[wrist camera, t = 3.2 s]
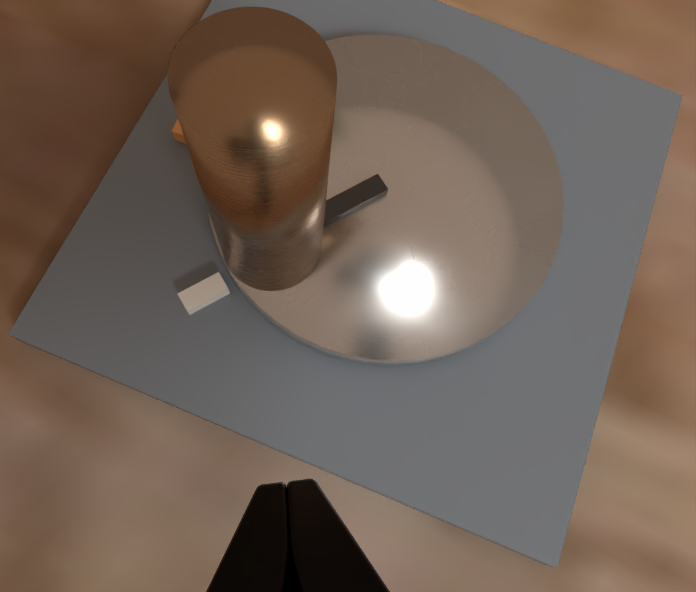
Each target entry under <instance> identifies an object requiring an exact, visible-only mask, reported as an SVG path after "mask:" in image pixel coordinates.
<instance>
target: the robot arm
mask: <svg viewBox="0 0 696 592" xmlns="http://www.w3.org/2000/svg"><path fill="white" fill-rule="evenodd" d="M206 592H390V591H389V590H388V588H387V587H386V585H385V584H384V582H383V581H382V579H381V578H380V576H379V575H378V573H377V572H376V570H375V569H374V567H373V566H372V564H371V563H370V561H369V560H368V558H367V557H366V555H365V554H364V552H363V551H362V549H361V548H360V546H359V545H358V543H357V542H356V540H355V539H354V537H353V536H352V534H351V533H350V531H349V530H348V528H347V527H346V525H345V524H344V522H343V521H342V519H341V518H340V516H339V515H338V513H337V512H336V510H335V509H334V507H333V506H332V505H331V503H330V502H329V500H328V499H327V497H326V496H325V494H324V493H323V491H322V490H321V488H320V487H319V485H318V484H317V482H316V481H315V480H313V479H304V480H296V481H290V482H289V483H288V484H287V487H286V485H285V483H283V482H279V483H271V484H262V485H260V486H258V487H257V489H256V490H255V492H254V494H253V496H252V498H251V500H250V503H249V505H248V507H247V509H246V511H245V513H244V515H243V517H242V519H241V521H240V523H239V525H238V527H237V529H236V531H235V533H234V535H233V538H232V540H231V542H230V544H229V546H228V548H227V550H226V552H225V554H224V556H223V558H222V560H221V562H220V564H219V566H218V568H217V570H216V573H215V575H214V577H213V579H212V581H211V583H210V585H209V587H208V589H207V591H206Z"/></svg>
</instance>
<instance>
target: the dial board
mask: <svg viewBox="0 0 696 592" xmlns="http://www.w3.org/2000/svg"><path fill="white" fill-rule="evenodd" d="M238 7H266V8H271V9H276V10H279V11H282V12H286V13H288V14H290V15H293V16H295V17H297V18H299V19H300V20H302V21H304V22H305V23H307V24H308V25H309V26H311V27H312V28H313V29H314V30H315V31H316V32H317V33H318V34H319V35H320V36H321V37H322V38H323V40H324V41H327V40H331V39H335V38H340V37H348V36H355V35H380V34H381V35H392V36H403V37H408V38H413V39H418V40H423V41H426V42H430V43H433V44H436V45H439V46H443V47H445V48H448V49H450V50H452V51H454V52H457V53H459V54H461V55H464V56H465V57H467V58H469V59H471V60H473V61H474V62H476V63H478V64H480V65H481V66H483V67H484V68H486V69H487V70H488V71H490V72H491V73H493V74H494V75H495V76H497V77H498V78H500V79H501V80H502V81H503V82H504V83H505V84H506V85H507V86H508V87H509V88H511V89H512V90H513V91H514V92H515V93H516V94H517V95H518V96H519V98H520V99H521V100H522V101H523V102H524V103H525V104H526V106H527V107H528V108H529V109H530V111H531V112H532V114H533V115H534V116H535V118H536V119H537V121H538V122H539V124H540V125H541V127H542V129H543V131H544V133H545V135H546V137H547V138H548V140H549V142H550V144H551V147H552V150H553V152H554V155H555V158H556V161H557V163H558V167H559V172H560V176H561V181H562V186H563V199H564V214H563V228H562V232H561V237H560V242H559V247H558V250H557V252H556V255H555V258H554V260H553V263H552V266H551V268H550V270H549V272H548V274H547V275H546V277H545V279H544V281H543V283H542V284H541V286H540V288H539V289H538V290H537V292H536V293H535V294H534V295H533V297H532V298H531V299H530V301H529V302H528V303H527V304H526V305H525V306H524V307H523V308H522V309H521V310H520V311H519V312H518V313H517V314H516V315H515V316H514V317H513V318H512V319H511V320H510V321H509V322H507V323H506V324H505V325H503V326H502V327H501V328H500V329H498V330H497V331H495V332H494V333H493V334H491V335H490V336H489V337H487V338H486V339H484V340H483V341H482V342H480V343H478V344H476V345H474V346H472V347H470V348H468V349H466V350H465V351H463V352H460V353H458V354H455V355H452V356H449V357H447V358H444V359H441V360H437V361H433V362H428V363H424V364H419V365H410V366H398V367H385V366H368V365H362V364H357V363H351V362H346V361H342V360H339V359H336V358H333V357H330V356H326V355H323V354H320V353H318V352H316V351H314V350H312V349H310V348H308V347H306V346H303V345H301V344H299V343H298V342H296V341H294V340H293V339H291V338H290V337H288V336H287V335H285V334H283V333H282V332H280V331H279V330H278V329H276V328H275V327H274V326H273V325H272V324H270V323H269V322H268V321H267V320H266V319H265V318H263V317H262V316H261V315H260V314H259V313H258V312H257V311H256V310H255V309H254V307H253V306H252V305H251V304H250V303H249V302H248V301H247V300H246V299H245V297H244V296H243V294H242V293H241V292H240V290H239V289H238V287H237V286H236V284H235V283H234V281H233V280H232V278H231V276H230V274H229V272H228V270H227V268H226V266H225V264H224V262H223V260H222V258H221V255H220V252H219V249H218V246H217V243H216V240H215V237H214V234H213V231H212V228H211V225H210V219H209V214H208V208H207V205H206V202H205V199H204V196H203V193H202V190H201V187H200V184H199V181H198V178H197V175H196V171H195V168H194V165H193V162H192V159H191V156H190V153H189V150H188V147H187V144H186V141H185V138H184V135H183V132H182V129H181V126H180V123H179V120H178V117H177V114H176V111H175V108H174V105H173V102H172V99H171V96H170V93H169V88H168V80H167V75H166V76H165V78H164V79H163V81H162V83H161V84H160V86H159V88H158V89H157V91H156V93H155V94H154V96H153V97H152V99H151V101H150V102H149V104H148V106H147V107H146V109H145V111H144V112H143V114H142V115H141V117H140V119H139V120H138V122H137V124H136V125H135V127H134V129H133V130H132V132H131V133H130V135H129V137H128V138H127V140H126V142H125V143H124V145H123V147H122V148H121V150H120V151H119V153H118V155H117V156H116V158H115V160H114V161H113V163H112V165H111V166H110V168H109V169H108V171H107V173H106V174H105V176H104V178H103V179H102V181H101V183H100V184H99V186H98V187H97V189H96V191H95V192H94V194H93V196H92V197H91V199H90V201H89V202H88V204H87V205H86V207H85V209H84V210H83V212H82V214H81V215H80V217H79V219H78V220H77V222H76V223H75V225H74V227H73V228H72V230H71V232H70V233H69V235H68V237H67V238H66V240H65V241H64V243H63V245H62V246H61V248H60V250H59V251H58V253H57V255H56V256H55V258H54V259H53V261H52V263H51V264H50V266H49V268H48V269H47V271H46V273H45V274H44V276H43V277H42V279H41V281H40V282H39V284H38V286H37V287H36V289H35V291H34V292H33V294H32V295H31V297H30V299H29V300H28V302H27V304H26V305H25V307H24V309H23V310H22V312H21V313H20V315H19V317H18V318H17V320H16V322H15V323H14V325H13V327H12V328H11V330H10V331H9V333H8V335H10V336H12V337H14V338H16V339H18V340H20V341H22V342H24V343H27V344H29V345H31V346H34V347H36V348H38V349H41V350H43V351H45V352H48V353H50V354H52V355H55V356H57V357H59V358H62V359H64V360H66V361H69V362H71V363H73V364H76V365H78V366H81V367H83V368H85V369H88V370H90V371H92V372H95V373H97V374H99V375H102V376H104V377H106V378H109V379H111V380H113V381H116V382H118V383H120V384H123V385H125V386H127V387H130V388H132V389H135V390H137V391H139V392H142V393H144V394H146V395H149V396H151V397H153V398H156V399H158V400H160V401H163V402H165V403H167V404H170V405H172V406H174V407H177V408H179V409H181V410H184V411H186V412H189V413H191V414H193V415H196V416H198V417H200V418H203V419H205V420H207V421H210V422H212V423H214V424H217V425H219V426H221V427H224V428H226V429H228V430H231V431H233V432H235V433H238V434H240V435H242V436H245V437H247V438H250V439H252V440H254V441H257V442H259V443H261V444H264V445H266V446H268V447H271V448H273V449H275V450H278V451H280V452H282V453H285V454H287V455H289V456H292V457H294V458H296V459H299V460H301V461H304V462H306V463H308V464H311V465H313V466H315V467H318V468H320V469H322V470H325V471H327V472H329V473H332V474H334V475H336V476H339V477H341V478H343V479H346V480H348V481H350V482H353V483H355V484H358V485H360V486H362V487H365V488H367V489H369V490H372V491H374V492H376V493H379V494H381V495H383V496H386V497H388V498H390V499H393V500H395V501H397V502H400V503H402V504H404V505H407V506H409V507H412V508H414V509H416V510H419V511H421V512H423V513H426V514H428V515H430V516H433V517H435V518H437V519H440V520H442V521H444V522H447V523H449V524H451V525H454V526H456V527H458V528H461V529H463V530H465V531H468V532H470V533H473V534H475V535H477V536H480V537H482V538H484V539H487V540H489V541H491V542H494V543H496V544H498V545H501V546H503V547H505V548H508V549H510V550H512V551H515V552H517V553H519V554H522V555H524V556H527V557H529V558H531V559H534V560H536V561H538V562H541V563H543V564H545V565H548V566H552V567H555V568H557V566H558V563H559V559H560V555H561V551H562V547H563V544H564V540H565V536H566V532H567V529H568V525H569V521H570V517H571V514H572V510H573V506H574V502H575V498H576V495H577V491H578V487H579V483H580V480H581V476H582V472H583V468H584V465H585V461H586V457H587V453H588V450H589V446H590V442H591V438H592V434H593V431H594V427H595V423H596V419H597V416H598V412H599V408H600V404H601V401H602V397H603V393H604V389H605V385H606V382H607V378H608V374H609V370H610V367H611V363H612V359H613V355H614V352H615V348H616V344H617V340H618V336H619V333H620V329H621V325H622V321H623V318H624V314H625V310H626V306H627V303H628V299H629V295H630V291H631V287H632V284H633V280H634V276H635V272H636V269H637V265H638V261H639V257H640V254H641V250H642V246H643V242H644V239H645V235H646V231H647V227H648V223H649V220H650V216H651V212H652V208H653V205H654V201H655V197H656V193H657V190H658V186H659V182H660V178H661V174H662V171H663V167H664V163H665V159H666V156H667V152H668V148H669V144H670V141H671V137H672V133H673V129H674V125H675V122H676V118H677V114H678V110H679V107H680V103H681V99H682V95H680V94H677V93H675V92H672V91H670V90H667V89H665V88H662V87H659V86H657V85H654V84H652V83H649V82H646V81H644V80H641V79H639V78H636V77H633V76H631V75H628V74H626V73H623V72H620V71H618V70H615V69H613V68H610V67H607V66H605V65H602V64H600V63H597V62H594V61H592V60H589V59H587V58H584V57H581V56H579V55H576V54H574V53H571V52H569V51H566V50H563V49H561V48H558V47H556V46H553V45H550V44H548V43H545V42H543V41H540V40H537V39H535V38H532V37H530V36H527V35H524V34H522V33H519V32H517V31H514V30H511V29H509V28H506V27H504V26H501V25H498V24H496V23H493V22H491V21H488V20H485V19H483V18H480V17H478V16H475V15H472V14H470V13H467V12H465V11H462V10H460V9H457V8H454V7H452V6H449V5H447V4H444V3H441V2H439V1H436V0H212V1H211V3H210V4H209V6H208V8H207V9H206V11H205V12H204V14H203V16H202V17H201V19H200V21H201V20H203V19H204V18H206V17H208V16H210V15H212V14H215V13H217V12H220V11H223V10H227V9H231V8H238Z"/></svg>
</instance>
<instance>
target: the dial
mask: <svg viewBox="0 0 696 592" xmlns="http://www.w3.org/2000/svg"><path fill="white" fill-rule="evenodd" d="M167 80H168V88H169V93H170V96H171V99H172V102H173V105H174V108H175V111H176V114H177V117H178V120H179V123H180V126H181V129H182V132H183V135H184V138H185V141H186V144H187V147H188V150H189V153H190V156H191V159H192V162H193V165H194V168H195V171H196V175H197V178H198V181H199V184H200V187H201V190H202V193H203V196H204V199H205V202H206V205H207V208H208V214H209V219H210V225H211V228H212V231H213V234H214V237H215V240H216V243H217V246H218V249H219V252H220V255H221V258H222V260H223V262H224V264H225V266H226V268H227V270H228V272H229V274H230V276H231V278H232V280H233V281H234V283H235V284H236V286H237V287H238V289H239V290H240V292H241V293H242V294H243V296H244V297H245V299H246V300H247V301H248V302H249V303H250V304H251V305H252V306H253V307H254V309H255V310H256V311H257V312H258V313H259V314H260V315H261V316H262V317H263V318H265V319H266V320H267V321H268V322H269V323H270V324H272V325H273V326H274V327H275V328H276V329H278V330H279V331H280V332H282V333H283V334H285V335H287V336H288V337H290V338H291V339H293V340H294V341H296V342H298V343H299V344H301V345H303V346H306V347H308V348H310V349H312V350H314V351H316V352H318V353H320V354H323V355H326V356H330V357H333V358H336V359H339V360H342V361H346V362H351V363H357V364H362V365H368V366H385V367H398V366H410V365H419V364H424V363H428V362H433V361H437V360H441V359H444V358H447V357H449V356H452V355H455V354H458V353H460V352H463V351H465V350H466V349H468V348H470V347H472V346H474V345H476V344H478V343H480V342H482V341H483V340H484V339H486V338H487V337H489V336H490V335H491V334H493V333H494V332H495V331H497V330H498V329H500V328H501V327H502V326H503V325H505V324H506V323H507V322H509V321H510V320H511V319H512V318H513V317H514V316H515V315H516V314H517V313H518V312H519V311H520V310H521V309H522V308H523V307H524V306H525V305H526V304H527V303H528V302H529V301H530V299H531V298H532V297H533V295H534V294H535V293H536V292H537V290H538V289H539V288H540V286H541V284H542V283H543V281H544V279H545V277H546V275H547V274H548V272H549V270H550V268H551V266H552V263H553V260H554V258H555V255H556V252H557V250H558V247H559V242H560V237H561V232H562V228H563V214H564V199H563V186H562V181H561V176H560V172H559V167H558V163H557V161H556V158H555V155H554V152H553V150H552V147H551V144H550V142H549V140H548V138H547V137H546V135H545V133H544V131H543V129H542V127H541V125H540V124H539V122H538V121H537V119H536V118H535V116H534V115H533V114H532V112H531V111H530V109H529V108H528V107H527V106H526V104H525V103H524V102H523V101H522V100H521V99H520V98H519V96H518V95H517V94H516V93H515V92H514V91H513V90H512V89H511V88H509V87H508V86H507V85H506V84H505V83H504V82H503V81H502V80H501V79H500V78H498V77H497V76H495V75H494V74H493V73H491V72H490V71H488V70H487V69H486V68H484V67H483V66H481V65H480V64H478V63H476V62H474V61H473V60H471V59H469V58H467V57H465V56H464V55H461V54H459V53H457V52H454V51H452V50H450V49H448V48H445V47H443V46H439V45H436V44H433V43H430V42H426V41H423V40H418V39H413V38H408V37H403V36H392V35H381V34H380V35H355V36H348V37H340V38H335V39H331V40H327V41H324V40H323V38H322V37H321V36H320V35H319V34H318V33H317V32H316V31H315V30H314V29H313V28H312V27H311V26H309V25H308V24H307V23H305V22H304V21H302V20H300V19H299V18H297V17H295V16H293V15H290V14H288V13H286V12H282V11H279V10H276V9H271V8H266V7H238V8H231V9H227V10H223V11H220V12H217V13H215V14H212V15H210V16H208V17H206V18H204V19H203V20H201V21H199V22H198V23H196V24H195V25H194V26H193V27H191V28H190V29H189V30H188V31H187V32H186V33H185V34H184V35H183V36H182V38H181V39H180V40H179V42H178V43H177V45H176V46H175V49H174V51H173V53H172V55H171V58H170V61H169V66H168V72H167Z"/></svg>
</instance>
